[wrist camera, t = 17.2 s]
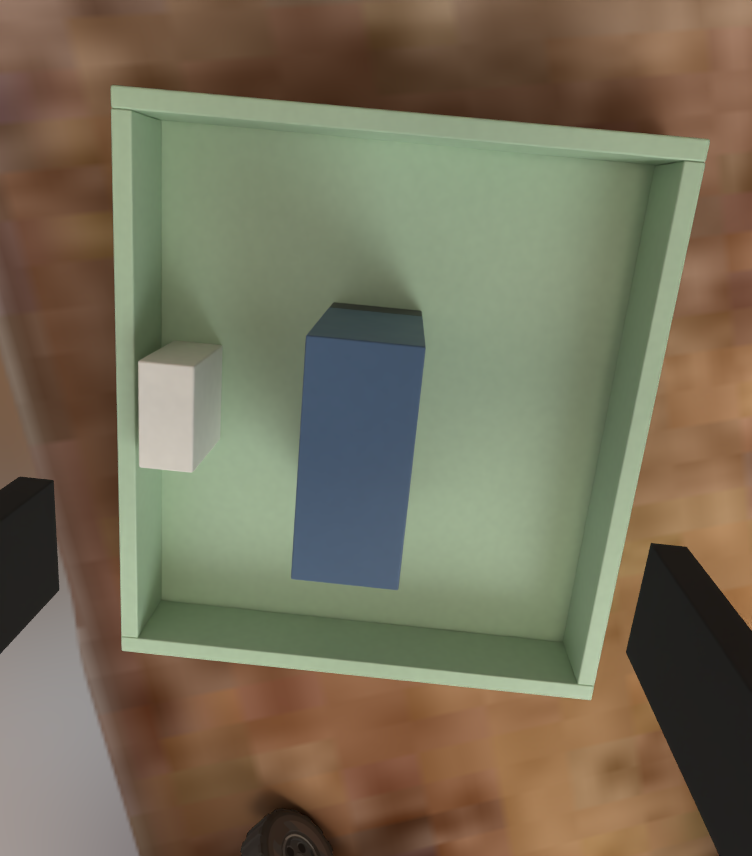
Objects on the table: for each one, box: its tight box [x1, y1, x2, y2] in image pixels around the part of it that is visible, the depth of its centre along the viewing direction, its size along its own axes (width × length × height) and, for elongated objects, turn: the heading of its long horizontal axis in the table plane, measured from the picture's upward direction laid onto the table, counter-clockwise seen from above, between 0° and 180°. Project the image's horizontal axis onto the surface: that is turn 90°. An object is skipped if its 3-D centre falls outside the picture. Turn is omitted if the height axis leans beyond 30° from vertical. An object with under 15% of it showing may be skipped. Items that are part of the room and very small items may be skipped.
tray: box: [111, 85, 710, 700], centre depth 28 cm, size 21×19×4 cm
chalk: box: [138, 341, 223, 473], centre depth 27 cm, size 4×4×2 cm
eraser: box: [291, 302, 426, 590], centre depth 26 cm, size 8×4×8 cm, turn 175°
